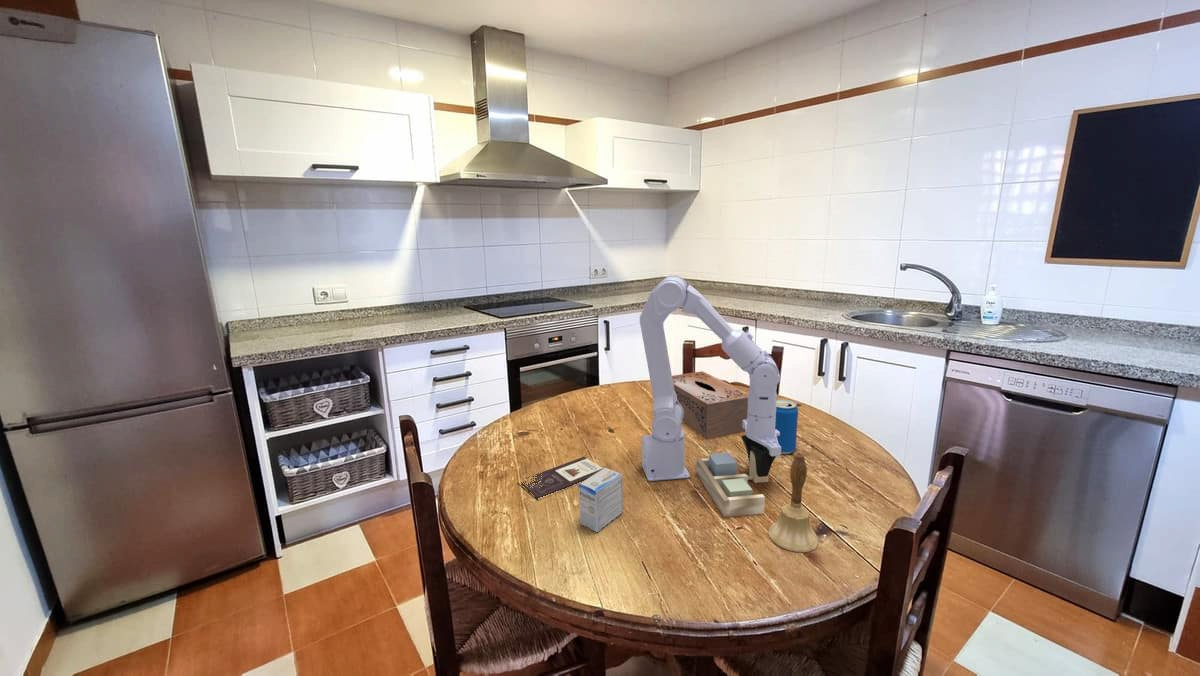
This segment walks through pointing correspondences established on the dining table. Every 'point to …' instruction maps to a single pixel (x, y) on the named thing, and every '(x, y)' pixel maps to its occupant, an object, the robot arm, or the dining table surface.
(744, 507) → the rack
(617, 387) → the dining table surface
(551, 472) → the chocolate bar
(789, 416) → the beverage can
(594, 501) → the medicine box
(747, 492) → the plain block
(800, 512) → the hand bell
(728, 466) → the corded block
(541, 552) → the dining table surface
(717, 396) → the tissue box cover
